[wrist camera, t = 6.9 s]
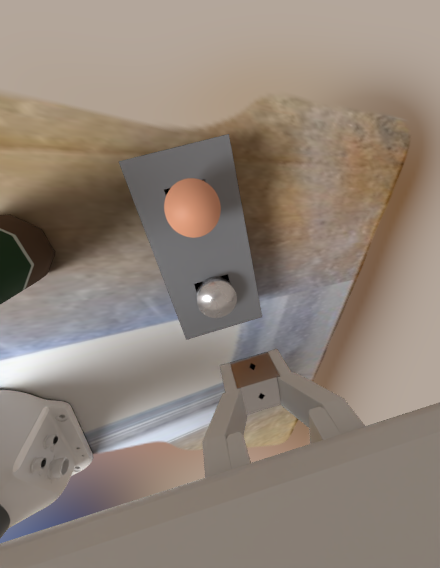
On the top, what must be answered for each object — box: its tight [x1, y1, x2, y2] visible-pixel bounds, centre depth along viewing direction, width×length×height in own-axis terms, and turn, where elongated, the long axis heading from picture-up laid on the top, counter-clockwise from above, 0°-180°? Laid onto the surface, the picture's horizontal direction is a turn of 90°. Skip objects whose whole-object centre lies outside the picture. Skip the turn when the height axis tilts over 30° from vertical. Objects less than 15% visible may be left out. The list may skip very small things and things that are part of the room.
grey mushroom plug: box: [196, 277, 237, 318], centre depth 26 cm, size 4×4×6 cm
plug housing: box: [119, 134, 262, 340], centre depth 25 cm, size 20×10×5 cm, turn 13°
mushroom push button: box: [164, 178, 221, 238], centre depth 20 cm, size 4×4×6 cm
